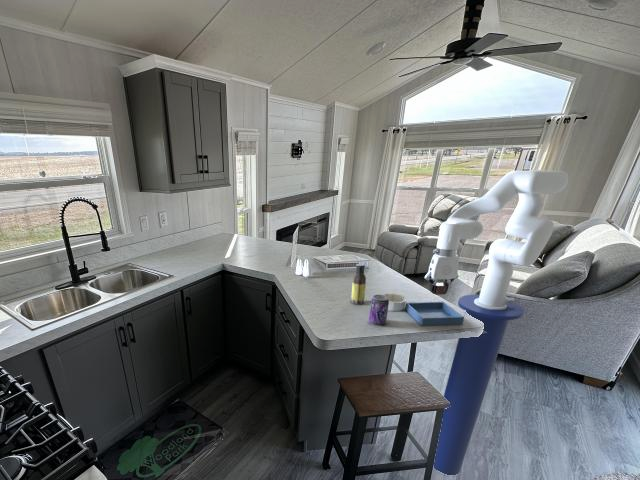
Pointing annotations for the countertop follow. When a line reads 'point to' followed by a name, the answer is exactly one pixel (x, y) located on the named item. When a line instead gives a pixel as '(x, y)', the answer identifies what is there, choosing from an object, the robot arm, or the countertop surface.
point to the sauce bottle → (358, 285)
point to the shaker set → (304, 269)
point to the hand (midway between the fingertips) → (438, 292)
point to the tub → (434, 313)
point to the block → (441, 288)
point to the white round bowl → (396, 302)
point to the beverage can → (379, 309)
